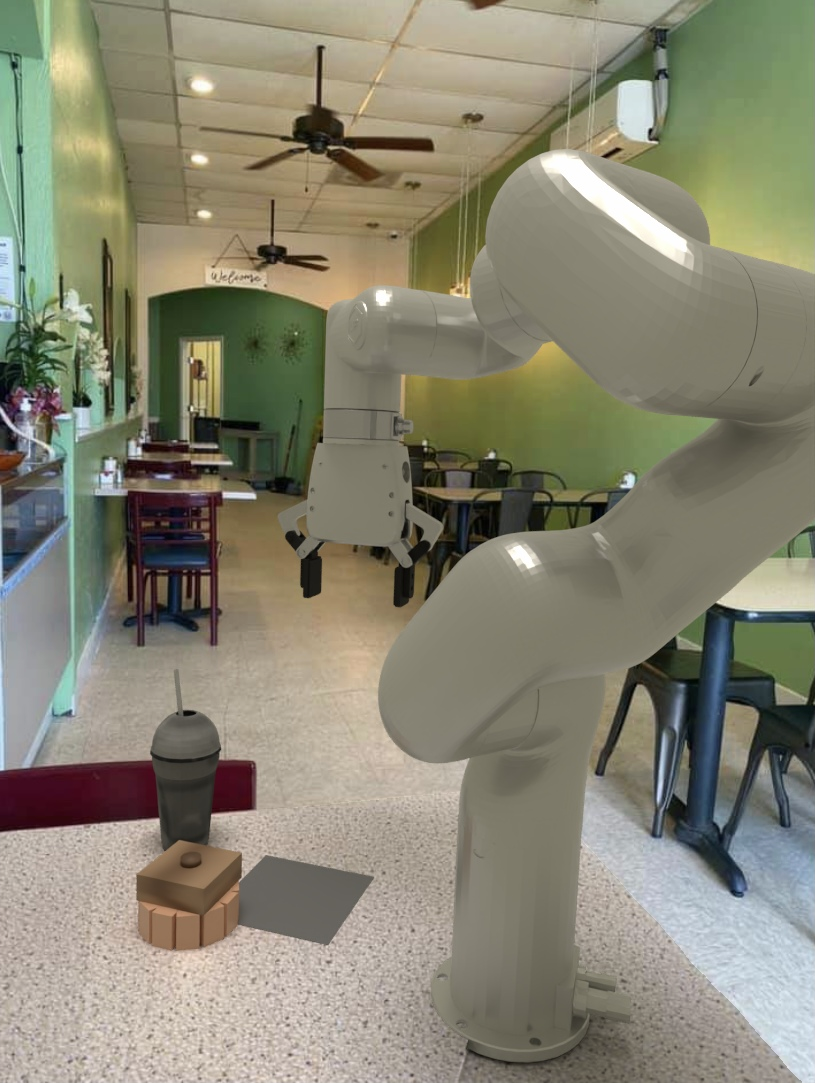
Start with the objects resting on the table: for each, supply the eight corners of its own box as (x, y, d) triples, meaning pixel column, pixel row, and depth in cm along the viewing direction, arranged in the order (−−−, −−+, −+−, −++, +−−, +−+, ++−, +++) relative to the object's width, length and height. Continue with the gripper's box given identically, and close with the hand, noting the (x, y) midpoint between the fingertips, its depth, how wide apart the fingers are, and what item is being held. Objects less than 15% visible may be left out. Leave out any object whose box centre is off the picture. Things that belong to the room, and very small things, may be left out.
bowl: (255, 914, 76) (255, 874, 76) (206, 969, 68) (206, 925, 68) (174, 896, 79) (174, 857, 78) (118, 947, 71) (118, 904, 70)
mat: (373, 886, 82) (374, 876, 82) (327, 955, 71) (328, 944, 71) (265, 864, 86) (266, 855, 85) (205, 926, 74) (205, 916, 74)
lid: (241, 877, 75) (242, 846, 75) (203, 915, 69) (203, 882, 69) (179, 864, 77) (179, 834, 77) (136, 900, 71) (136, 867, 71)
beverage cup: (201, 874, 83) (203, 683, 81) (136, 865, 84) (136, 676, 82) (231, 841, 90) (233, 664, 88) (170, 833, 91) (171, 658, 89)
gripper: (455, 434, 82) (447, 602, 84) (297, 428, 87) (293, 587, 89) (435, 432, 75) (428, 615, 77) (264, 426, 80) (261, 598, 82)
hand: (356, 600), depth 83 cm, fingers open, 9 cm apart
